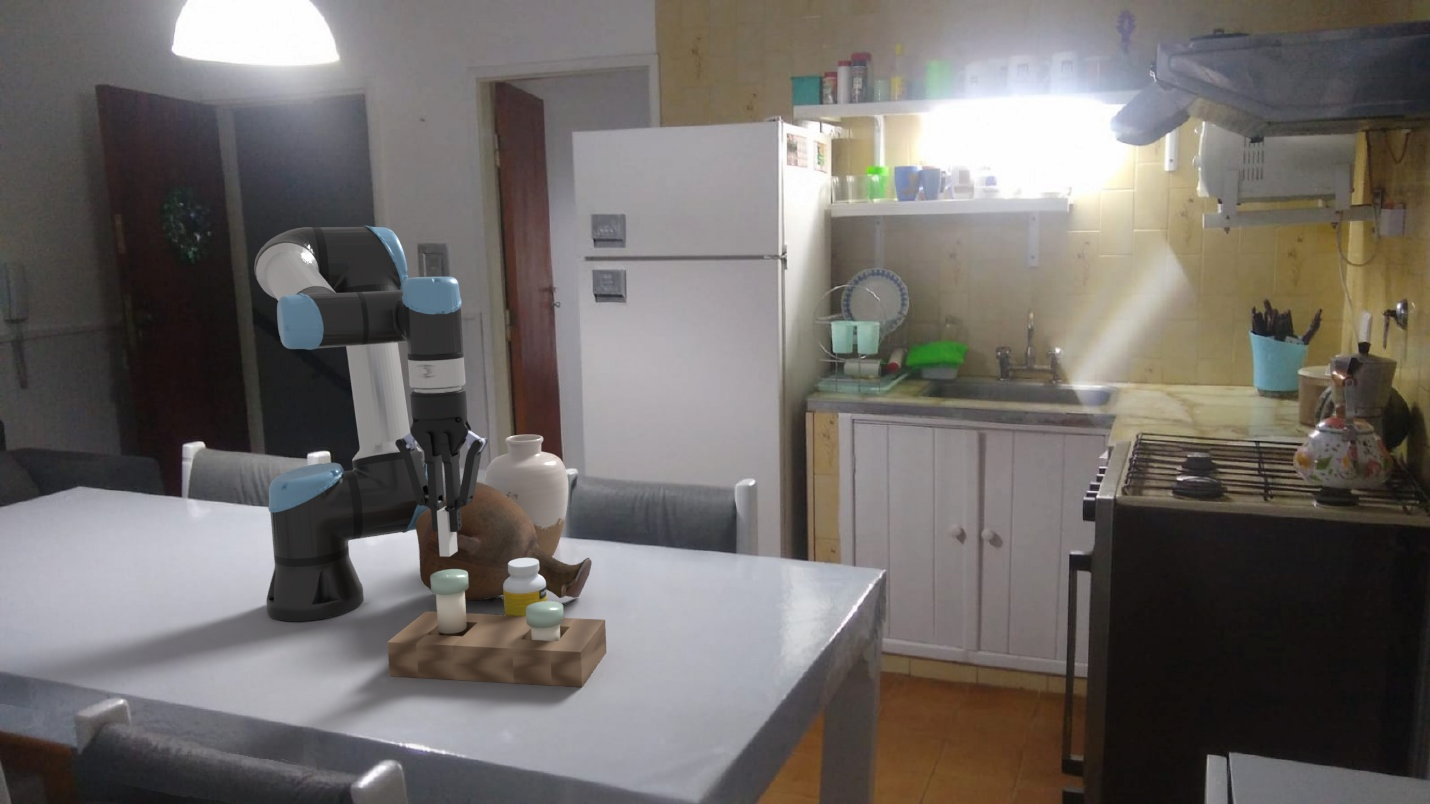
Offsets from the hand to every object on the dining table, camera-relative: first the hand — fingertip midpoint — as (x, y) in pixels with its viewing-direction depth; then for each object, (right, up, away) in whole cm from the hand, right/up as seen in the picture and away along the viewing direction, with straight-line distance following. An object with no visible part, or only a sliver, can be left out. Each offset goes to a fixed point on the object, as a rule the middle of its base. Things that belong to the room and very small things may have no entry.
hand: (448, 553), depth 147 cm
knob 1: (0, -11, +2) cm, 11 cm away
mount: (+7, -16, +2) cm, 18 cm away
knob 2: (+14, -15, 0) cm, 21 cm away
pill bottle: (+9, -15, +12) cm, 21 cm away
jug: (+2, -12, +29) cm, 31 cm away
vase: (+2, -8, +54) cm, 54 cm away
